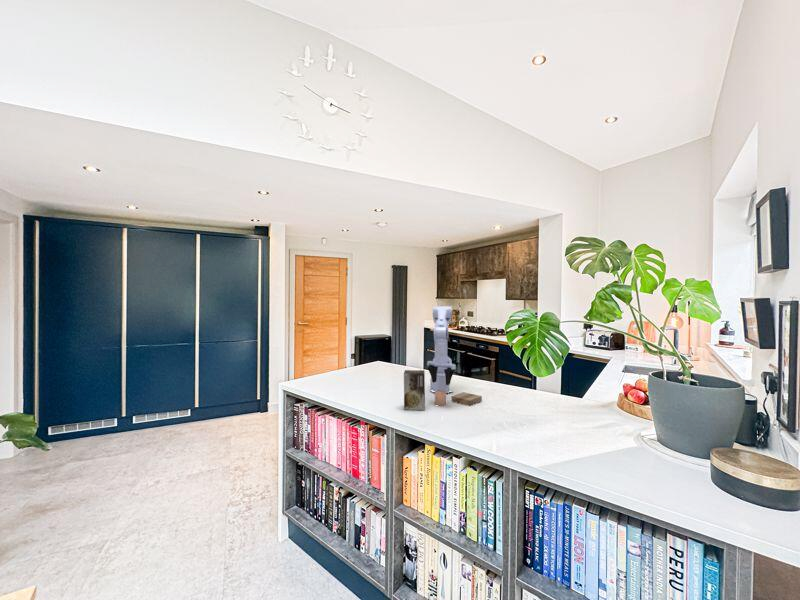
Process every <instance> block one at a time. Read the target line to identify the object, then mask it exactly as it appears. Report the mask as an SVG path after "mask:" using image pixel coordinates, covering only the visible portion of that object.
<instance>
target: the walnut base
mask: <svg viewBox="0 0 800 600" xmlns="http://www.w3.org/2000/svg"><path fill="white" fill-rule="evenodd" d="M451 401H453V402H452V403H455V402H457V403H456V404H459V403H461V404H460V405H463V404H464V405H463V406H467V405H468V406H467V407H472V406H474V405H476V403H477V404H479V403H481V402H480V401H482V402H483V397H482V395H478V394H473V393H469V392H460V393H457V394H454V395H451ZM478 402H479V403H478ZM473 404H474V405H473ZM471 405H472V406H471Z"/></svg>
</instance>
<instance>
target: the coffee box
mask: <svg viewBox="0 0 800 600" xmlns="http://www.w3.org/2000/svg"><path fill="white" fill-rule="evenodd" d="M425 372H426V371H425V370H424V369H423V370H422V369H406V370H404V373H403V395H404V396H403V410H404V411H426V383H425V382H426V379H425V378H426V377H425Z"/></svg>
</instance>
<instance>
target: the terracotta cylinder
mask: <svg viewBox="0 0 800 600" xmlns="http://www.w3.org/2000/svg"><path fill="white" fill-rule="evenodd" d="M436 405H438V406H437V407H445V406H444V405H446V406H447V394H446V391H445V390H436V391H435V393H434V406H436Z"/></svg>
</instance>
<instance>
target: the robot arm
mask: <svg viewBox="0 0 800 600" xmlns="http://www.w3.org/2000/svg"><path fill="white" fill-rule="evenodd" d="M432 317H433V318H432V319H433V323H434V324H435V327H434V328H433V341H434V357H433V359H432V360H428V361H427V363H426V365H427V370H428V372H429V374H430V381H429V382H430V385H429V386H430V388H429V389H430V390H433V391H436V390H445V391H446V393H448V392H449V390H450V385H451V383H452V382H451V381H452V378H453V375H454V373H455V372H456V366H457V365H456V363H452V361H453V360H452V358H450V356H448V339H449V327H448V325H449V324H451V323H452V320H453V319H452V318H453V307H452V306H451V305H450V306H442V305H441V306H438V305H437V306H435V305H433V307H432ZM430 390H429V391H430ZM448 394H449V393H448Z"/></svg>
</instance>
